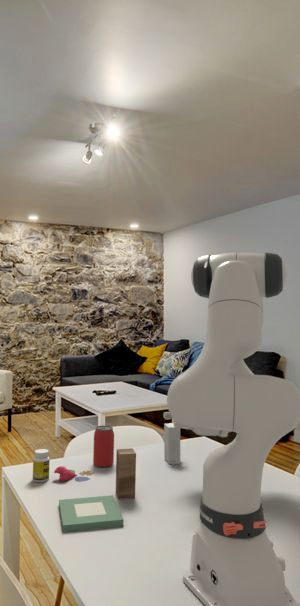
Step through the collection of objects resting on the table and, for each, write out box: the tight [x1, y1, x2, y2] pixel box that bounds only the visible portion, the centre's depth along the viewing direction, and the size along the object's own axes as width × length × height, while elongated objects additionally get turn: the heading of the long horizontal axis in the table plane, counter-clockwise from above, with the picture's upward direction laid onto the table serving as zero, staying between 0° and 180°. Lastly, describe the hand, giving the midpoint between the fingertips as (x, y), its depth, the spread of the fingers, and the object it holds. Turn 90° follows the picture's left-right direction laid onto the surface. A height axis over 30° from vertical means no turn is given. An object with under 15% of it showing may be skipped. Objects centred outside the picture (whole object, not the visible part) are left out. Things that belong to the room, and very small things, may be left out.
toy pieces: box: [53, 465, 95, 483], centre depth 138 cm, size 12×11×4 cm
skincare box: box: [163, 422, 181, 465], centre depth 154 cm, size 6×4×12 cm
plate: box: [58, 495, 125, 533], centre depth 113 cm, size 14×14×2 cm
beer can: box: [92, 425, 115, 468], centre depth 149 cm, size 7×7×12 cm
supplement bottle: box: [32, 448, 51, 483], centre depth 135 cm, size 5×5×8 cm
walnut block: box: [115, 447, 137, 500], centre depth 125 cm, size 4×4×12 cm
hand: (169, 420), depth 129 cm, fingers open, 8 cm apart
